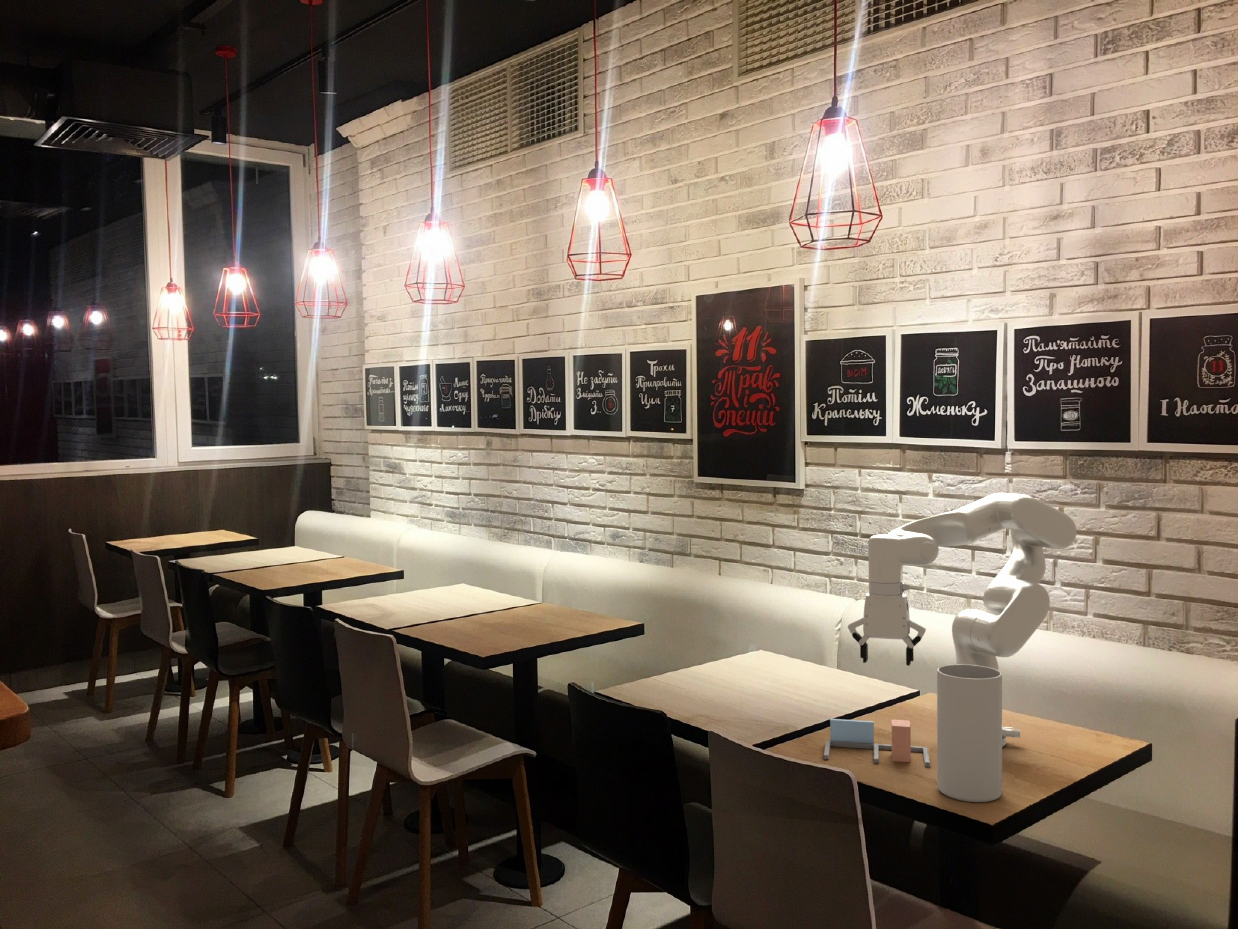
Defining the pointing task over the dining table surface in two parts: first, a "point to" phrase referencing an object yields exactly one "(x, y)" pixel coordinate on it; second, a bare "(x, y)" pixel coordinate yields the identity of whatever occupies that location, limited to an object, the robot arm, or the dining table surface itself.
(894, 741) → the plug block
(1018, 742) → the dining table surface
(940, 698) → the cylinder vase
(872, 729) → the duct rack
